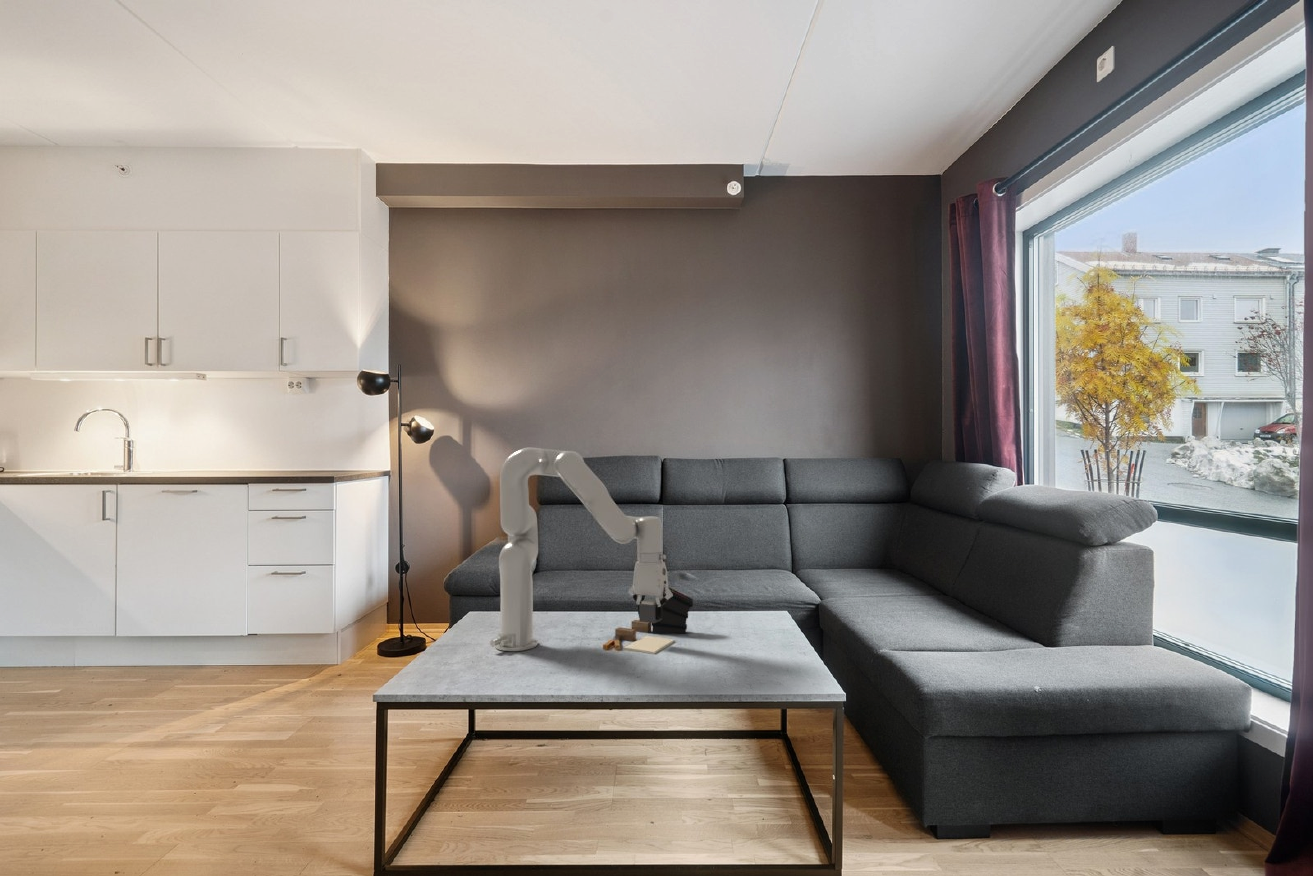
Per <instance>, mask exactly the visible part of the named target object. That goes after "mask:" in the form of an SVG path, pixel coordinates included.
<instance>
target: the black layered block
mask: <svg viewBox="0 0 1313 876" xmlns="http://www.w3.org/2000/svg"><path fill="white" fill-rule="evenodd" d="M668 588H669V590H670V591H671V592H672V594H673V596H672V597H671V598H670V599H669V600H668V601H667V602H666V603H665V604H664V605H663V616H662V620H660V621H658V622H656V623H651V627H652V629H651V633H652V634H665V635H666V634H668V635H672V634H674V635H675V634H676V635H678V634H679V635H681V634H682V635H686V633H687V632H686V631H687V629H688V624H687V620H688V619H689V611H690V609H691V608H692V607H693V606H694V605H693V604H694V598H692V597H689V596H688V595H686V594H684V593H682V592H679V591H678V590H675V589H673V588H672V587H670V586H668ZM665 596H666V594H663V598H664V597H665Z"/></svg>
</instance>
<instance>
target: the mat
mask: <svg viewBox="0 0 1313 876" xmlns="http://www.w3.org/2000/svg"><path fill="white" fill-rule="evenodd" d="M675 642H676V639H673V638H667V637H666V638H665V637H658V636H653V635H645V636H642V637H641V638H639V639H636V641H635V640H634V641H632V642H631V643H630V644H628V645H626V646H624V647H623V651H624V650H625V651H631V652H636V653H637V652H638V653H645V654H651V655H655V654H657V653H658V652H660V651H662V650H663V649H665V648H667V647H668V646H670V645H672V644H673V643H675Z"/></svg>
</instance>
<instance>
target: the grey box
mask: <svg viewBox="0 0 1313 876" xmlns="http://www.w3.org/2000/svg"><path fill="white" fill-rule="evenodd" d="M656 607H657V603H656V599H655V598H646V599H644V600H643V601H642V603H641V604H639V614H638V620H639V622H647V623H651V624H652V623H656V622H658V621H660V620H662V618H661V619H659V620H656Z"/></svg>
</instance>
